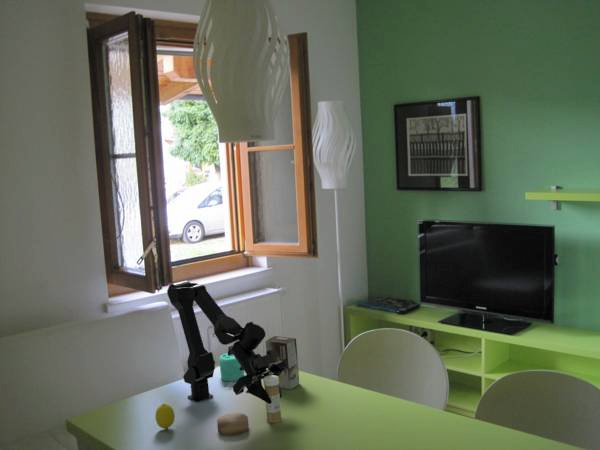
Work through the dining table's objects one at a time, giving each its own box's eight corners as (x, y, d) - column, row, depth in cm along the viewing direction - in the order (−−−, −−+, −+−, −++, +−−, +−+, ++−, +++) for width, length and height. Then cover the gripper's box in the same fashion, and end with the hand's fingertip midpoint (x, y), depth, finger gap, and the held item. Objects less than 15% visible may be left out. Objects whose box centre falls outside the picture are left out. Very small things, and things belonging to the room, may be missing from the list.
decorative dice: (244, 379, 237) (243, 358, 236) (222, 382, 236) (220, 360, 235) (242, 372, 245) (240, 351, 244) (220, 375, 244) (218, 353, 243)
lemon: (171, 433, 197) (169, 407, 196) (153, 433, 198) (151, 407, 197) (178, 425, 202) (176, 400, 201) (161, 425, 203) (158, 399, 202)
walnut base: (212, 429, 198) (211, 419, 197) (237, 420, 203) (236, 410, 203) (228, 438, 191) (227, 428, 190) (254, 428, 196) (253, 419, 196)
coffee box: (300, 383, 230) (297, 338, 228) (290, 389, 225) (287, 343, 223) (278, 379, 235) (275, 335, 233) (267, 386, 230) (264, 340, 228)
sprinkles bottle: (277, 415, 204) (274, 373, 203) (284, 421, 200) (281, 377, 199) (264, 419, 202) (260, 376, 201) (270, 424, 198) (266, 381, 197)
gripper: (236, 352, 194) (266, 396, 188) (280, 335, 208) (309, 375, 202) (220, 373, 200) (249, 416, 194) (263, 355, 214) (291, 395, 208)
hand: (276, 400), depth 200 cm, fingers closed on sprinkles bottle, 4 cm apart
